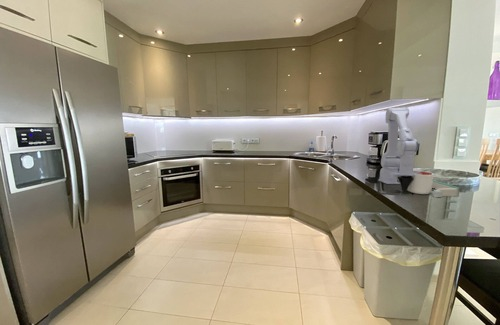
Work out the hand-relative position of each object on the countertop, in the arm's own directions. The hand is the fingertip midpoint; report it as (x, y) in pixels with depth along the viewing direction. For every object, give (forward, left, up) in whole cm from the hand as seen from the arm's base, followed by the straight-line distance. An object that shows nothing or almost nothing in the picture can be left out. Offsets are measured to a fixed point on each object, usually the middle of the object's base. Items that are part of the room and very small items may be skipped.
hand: (404, 190), depth 111 cm
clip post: (+8, +10, -1) cm, 13 cm away
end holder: (0, +16, -1) cm, 16 cm away
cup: (0, +8, -1) cm, 8 cm away
